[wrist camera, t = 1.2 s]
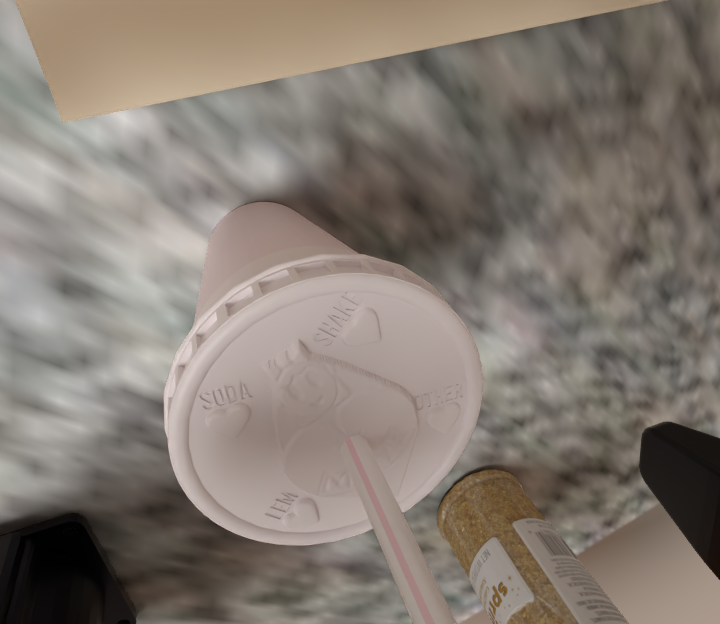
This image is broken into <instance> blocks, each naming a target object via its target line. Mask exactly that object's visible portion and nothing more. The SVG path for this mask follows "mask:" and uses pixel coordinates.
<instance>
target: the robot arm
mask: <svg viewBox="0 0 720 624" xmlns="http://www.w3.org/2000/svg"><path fill="white" fill-rule="evenodd" d="M639 468H640V473H641V475H642V478H643V479H644V481H645V483H646V484H647V485H648V487H649V488H650V490H651V491H652V492H653V494H654V495H655V496H656V498H657V499H658V500H659V502H660V503H661V504H662V506H663V507H664V509H665V510H666V511H667V513H668V514H669V515H670V516H671V518H672V519H673V521H674V522H675V523H676V525H677V526H678V527H679V529H680V530H681V531H682V533H683V534H684V535H685V537H686V538H687V540H688V541H689V542H690V544H691V545H692V547H693V548H694V549H695V551H696V552H697V553H698V554H699V556H700V557H701V558H702V559H703V561H704V562H705V563H706V565H707V566H708V567H709V568H710V569H711V570H712V572H713V573H714V574H715V575H716V576H717V577H718V579H719V580H720V438H718V437H715V436H712V435H709V434H706V433H703V432H700V431H697V430H694V429H691V428H688V427H685V426H682V425H679V424H676V423H673V422H662V423H659V424H657V425H654V426H651V427H649V428H647V429H645V430H644V432H643V433H642V438H641V450H640V461H639ZM67 527H76V528H75V529H68V528H67ZM136 618H137V613H136V610H135V608H134V606H133V604H132V603H131V601H130V599H129V597H128V595H127V593H126V592H125V590H124V588H123V586H122V584H121V582H120V581H119V579H118V577H117V575H116V573H115V571H114V570H113V568H112V566H111V564H110V562H109V560H108V559H107V557H106V555H105V553H104V551H103V549H102V548H101V546H100V544H99V542H98V540H97V538H96V536H95V535H94V533H93V531H92V529H91V527H90V525H89V524H88V522H87V520H86V519H85V518H84V516H82V515H80V514H74V513H72V514H67V515H64V516H60V517H57V518H54V519H51V520H48V521H45V522H42V523H39V524H36V525H33V526H30V527H26V528H23V529H20V530H17V531H14V532H11V533H8V534H5V535H2V536H0V624H136ZM124 619H125V620H124Z"/></svg>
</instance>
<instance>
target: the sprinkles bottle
mask: <svg viewBox="0 0 720 624" xmlns="http://www.w3.org/2000/svg"><path fill="white" fill-rule="evenodd" d="M437 521H438V528H439V531H440V533H441V535H442V536H443V538H444V539H445V540H446V541H447V542H448V543H449V544H450V546H451V547H452V549H453V551H454V553H455V554H456V556H457V558H458V560H459V561H460V563H461V566H462V567H463V568H464V570H465V572H466V574H467V575H468V577H469V578H470V582H471V585H472V587H473V589H474V591H475V593H476V594H477V596H478V598H479V600H480V601H481V603H482V605H483V607H484V608H485V610H486V612H487V614H488V616H489V617H490V619H491V621H492V623H493V624H629V623H628V621H627V620H626V619H625V618H624V616H623V615H622V614H621V613H620V611H619V610H618V609H617V608H616V606H615V605H614V604H613V602H612V601H611V600H610V599H609V597H608V596H607V595H606V594H605V592H604V591H603V590H602V589H601V587H600V586H599V585H598V583H597V582H596V581H595V579H594V578H593V577H592V576H591V574H590V573H589V572H588V571H587V569H586V568H585V567H584V566H583V564H582V563H581V562H580V560H579V559H578V558H577V557H576V555H575V554H574V553H573V551H572V550H571V549H570V548H569V546H568V545H567V544H566V542H565V541H564V540H563V539H562V537H561V536H560V535H559V533H558V532H557V531H556V530H555V528H554V527H553V526H552V525H551V524H549V523H548V522H546V520H545V519H544V518H543V516H542V515H541V514H540V513H539V511H538V510H537V509H536V508H535V506H534V505H533V503H532V502H531V501H530V499H529V498H528V497H527V496H526V495H525V493H524V490H523V487H522V485H521V484H520V482H519V481H518V479H517V478H516V477H514V476H513V475H512V474H510V473H508V472H505V471H501V470H484V471H481V472H477V473H474V474H472V475H469V476H467V477H465V478H464V479H463V480H462V481H460V482H458V483H457V484H456V485H455V486H454V487H453V488H452V489H451V490H450V491H449V493H448V494H447V495H446V496H445V497H444V500H443V501H442V503H441V504H440V507H439V510H438V518H437Z"/></svg>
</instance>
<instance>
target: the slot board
mask: <svg viewBox="0 0 720 624" xmlns="http://www.w3.org/2000/svg"><path fill="white" fill-rule="evenodd" d="M15 1H16V4H17V6H18V9H19V11H20V14H21V16H22V19H23V22H24V24H25V27H26V29H27V32H28V34H29V37H30V40H31V42H32V45H33V47H34V50H35V52H36V55H37V57H38V60H39V63H40V65H41V68H42V70H43V73H44V75H45V78H46V81H47V83H48V86H49V88H50V91H51V93H52V96H53V99H54V101H55V104H56V106H57V109H58V111H59V114H60V117H61V119H62V122H68V121H73V120H78V119H83V118H88V117H93V116H98V115H103V114H108V113H113V112H118V111H123V110H128V109H133V108H138V107H143V106H147V105H152V104H157V103H162V102H167V101H172V100H177V99H182V98H187V97H192V96H197V95H202V94H207V93H212V92H217V91H222V90H227V89H232V88H236V87H241V86H246V85H251V84H256V83H261V82H266V81H271V80H276V79H281V78H286V77H291V76H296V75H301V74H306V73H311V72H316V71H320V70H325V69H330V68H335V67H340V66H345V65H350V64H355V63H360V62H365V61H370V60H375V59H380V58H385V57H390V56H395V55H400V54H405V53H409V52H414V51H419V50H424V49H429V48H434V47H439V46H444V45H449V44H454V43H459V42H464V41H469V40H474V39H479V38H484V37H489V36H494V35H498V34H503V33H508V32H513V31H518V30H523V29H528V28H533V27H538V26H543V25H548V24H553V23H558V22H563V21H568V20H573V19H578V18H582V17H587V16H592V15H597V14H602V13H607V12H612V11H617V10H622V9H627V8H632V7H637V6H642V5H647V4H652V3H657V2H662V1H667V0H15Z"/></svg>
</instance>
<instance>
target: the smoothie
mask: <svg viewBox="0 0 720 624" xmlns="http://www.w3.org/2000/svg"><path fill="white" fill-rule="evenodd" d="M482 394H483V374H482V365H481V361H480V356H479V353H478V350H477V347H476V344H475V342H474V340H473V338H472V336H471V334H470V332H469V330H468V329H467V327H466V325H465V324H464V322H463V321H462V320H461V319H460V317H459V316H458V315H457V314H456V313H455V312H454V310H453V309H452V308H451V307H450V305H449V304H448V303H447V302H446V300H445V299H444V298H443V297H442V296H441V294H440V293H439V292H438V291H437V289H436V288H435V287H434V286H433V285H432V284H430V283H429V282H427V281H426V280H424V279H423V278H421V277H419V276H418V275H416V274H415V273H413V272H412V271H410V270H409V269H407V268H406V267H404V266H402V265H399V264H396V263H392V262H389V261H385V260H382V259H379V258H375V257H372V256H368V255H365V254H359V253H357V252H356V251H354V250H353V249H351V248H350V247H348V246H347V245H345V244H344V243H342V242H341V241H339V240H338V239H336V238H335V237H333V236H332V235H330V234H329V233H327V232H326V231H324V230H323V229H321V228H320V227H318V226H317V225H315V224H314V223H312V222H311V221H309V220H308V219H306V218H305V217H303V216H302V215H300V214H299V213H297V212H296V211H294V210H292V209H291V208H289V207H287V206H284V205H281V204H278V203H273V202H255V203H250V204H246V205H243V206H241V207H239V208H237V209H235V210H233V211H231V212H230V213H229V214H227V215H226V216H225V217H224V218H223V219H222V220H221V221H220V222H219V223H218V224H217V226H216V227H215V229H214V231H213V232H212V234H211V237H210V239H209V243H208V247H207V253H206V258H205V264H204V269H203V275H202V281H201V286H200V292H199V297H198V303H197V309H196V314H195V320H194V325H193V327H192V329H191V330H190V332H189V334H188V335H187V337H186V338H185V340H184V341H183V343H182V344H181V346H180V347H179V349H178V350H177V352H176V353H175V356H174V360H173V363H172V366H171V370H170V373H169V376H168V380H167V383H166V386H165V390H164V424H165V432H166V435H167V437H168V450H169V455H170V461H171V464H172V467H173V470H174V473H175V476H176V478H177V480H178V482H179V484H180V486H181V488H182V489H183V491H184V492H185V494H186V495H187V497H188V498H189V499H190V500H191V502H192V503H193V504H194V505H195V506H196V507H197V508H198V509H199V510H200V511H201V512H202V513H203V514H204V515H205V516H207V517H208V518H209V519H211V520H212V521H213V522H215V523H216V524H218V525H220V526H221V527H223V528H225V529H226V530H229V531H231V532H233V533H235V534H237V535H240V536H243V537H246V538H249V539H252V540H256V541H260V542H265V543H271V544H277V545H313V544H321V543H329V542H335V541H338V540H342V539H346V538H349V537H353V536H357V535H360V534H362V533H365V532H367V531H369V530H372V529H373V530H374V532H375V535H376V537H377V539H378V542H379V544H380V547H381V549H382V551H383V554H384V556H385V558H386V561H387V563H388V566H389V568H390V570H391V573H392V575H393V578H394V580H395V582H396V585H397V587H398V589H399V592H400V594H401V597H402V599H403V601H404V604H405V606H406V609H407V611H408V613H409V616H410V618H411V621H412V623H413V624H457V623H456V621H455V619H454V617H453V615H452V613H451V610H450V608H449V606H448V604H447V602H446V600H445V598H444V596H443V594H442V592H441V590H440V588H439V586H438V584H437V582H436V580H435V578H434V576H433V574H432V572H431V570H430V568H429V566H428V564H427V562H426V560H425V558H424V556H423V554H422V552H421V550H420V548H419V546H418V544H417V541H416V539H415V537H414V535H413V533H412V531H411V529H410V527H409V525H408V523H407V521H406V519H405V517H404V515H403V513H404V512H406V511H407V510H409V509H410V508H412V507H413V506H414V505H415V504H417V503H418V502H419V501H420V500H422V499H423V498H424V497H425V496H427V495H428V494H429V493H430V492H431V491H432V490H433V489H434V488H435V487H436V486H437V485H438V484H439V483H440V482H441V481H442V480H443V479H444V477H445V476H446V475H447V474H448V473H449V472H450V470H451V469H452V468H453V466H454V465H455V464H456V462H457V461H458V459H459V458H460V456H461V454H462V453H463V452H464V449H465V448H466V446H467V444H468V442H469V440H470V438H471V435H472V433H473V431H474V428H475V426H476V422H477V419H478V416H479V412H480V407H481V402H482Z"/></svg>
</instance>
